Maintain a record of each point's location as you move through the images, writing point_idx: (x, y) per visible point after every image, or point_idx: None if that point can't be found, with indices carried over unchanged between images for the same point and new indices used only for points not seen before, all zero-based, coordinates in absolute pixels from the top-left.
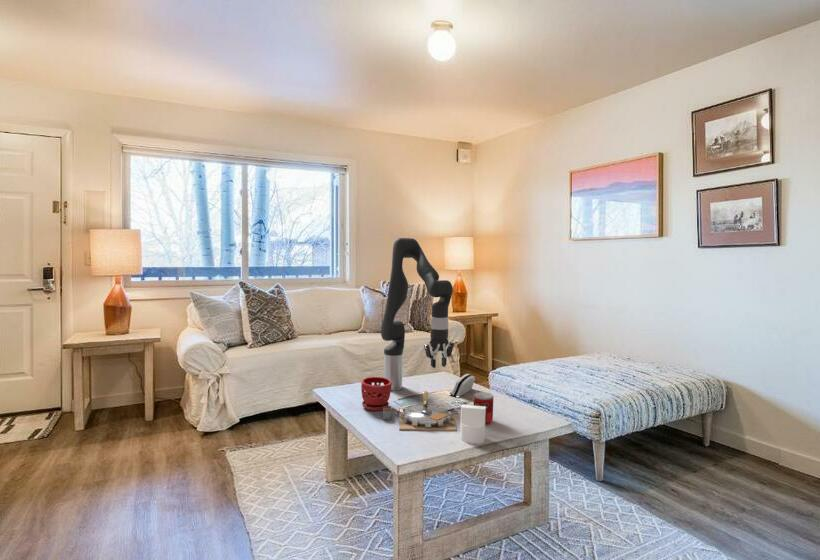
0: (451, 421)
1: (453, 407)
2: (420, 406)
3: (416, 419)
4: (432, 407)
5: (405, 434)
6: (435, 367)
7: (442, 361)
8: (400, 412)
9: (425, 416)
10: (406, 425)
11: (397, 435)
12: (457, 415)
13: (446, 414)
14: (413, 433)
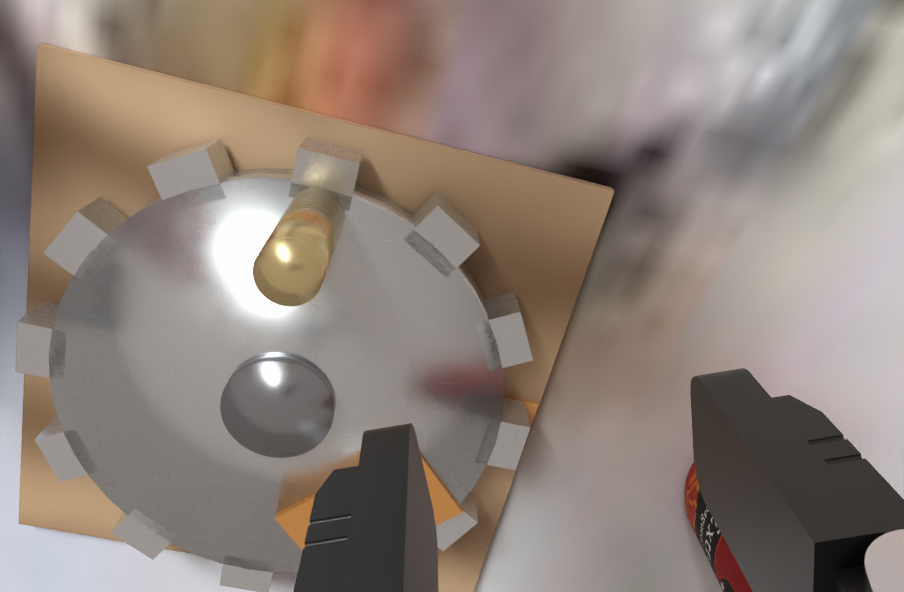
0: (492, 472)
1: (692, 101)
2: (257, 220)
3: (152, 526)
4: (386, 277)
5: (70, 581)
6: (435, 532)
7: (749, 496)
8: (47, 169)
9: (249, 481)
10: (84, 476)
11: (7, 586)
12: (620, 323)
13: (461, 475)
14: (134, 577)
